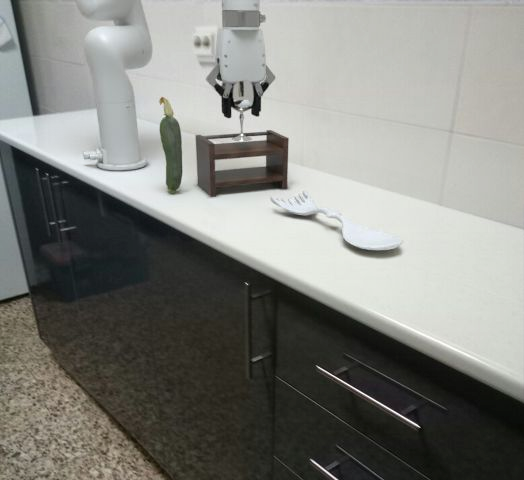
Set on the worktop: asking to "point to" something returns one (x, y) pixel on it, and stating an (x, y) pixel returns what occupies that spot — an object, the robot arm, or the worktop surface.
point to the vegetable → (171, 147)
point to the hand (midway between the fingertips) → (241, 115)
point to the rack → (271, 148)
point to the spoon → (350, 230)
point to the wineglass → (242, 102)
